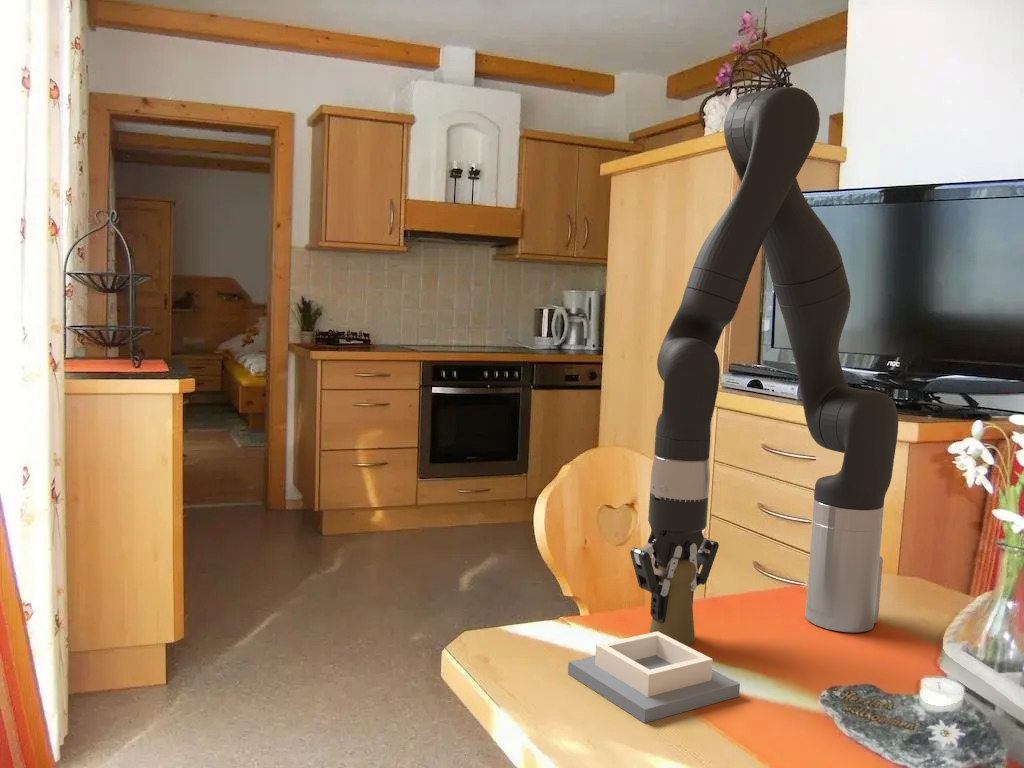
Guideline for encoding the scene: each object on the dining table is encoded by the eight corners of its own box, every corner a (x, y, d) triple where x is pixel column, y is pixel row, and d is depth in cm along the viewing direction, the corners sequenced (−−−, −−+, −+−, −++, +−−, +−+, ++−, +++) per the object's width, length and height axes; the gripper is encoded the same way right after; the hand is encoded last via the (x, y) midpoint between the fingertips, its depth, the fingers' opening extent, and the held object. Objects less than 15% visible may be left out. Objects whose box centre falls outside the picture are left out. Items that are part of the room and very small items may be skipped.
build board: (657, 652, 118) (659, 622, 117) (739, 696, 106) (741, 662, 105) (567, 673, 110) (569, 641, 110) (644, 723, 98) (646, 686, 98)
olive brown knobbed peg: (694, 649, 119) (700, 565, 118) (647, 643, 120) (652, 561, 119) (695, 632, 125) (700, 553, 124) (650, 627, 126) (654, 548, 125)
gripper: (699, 481, 127) (691, 602, 129) (618, 489, 120) (610, 617, 122) (739, 492, 121) (730, 620, 123) (656, 501, 114) (648, 637, 115)
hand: (670, 618), depth 122 cm, fingers closed on olive brown knobbed peg, 3 cm apart
